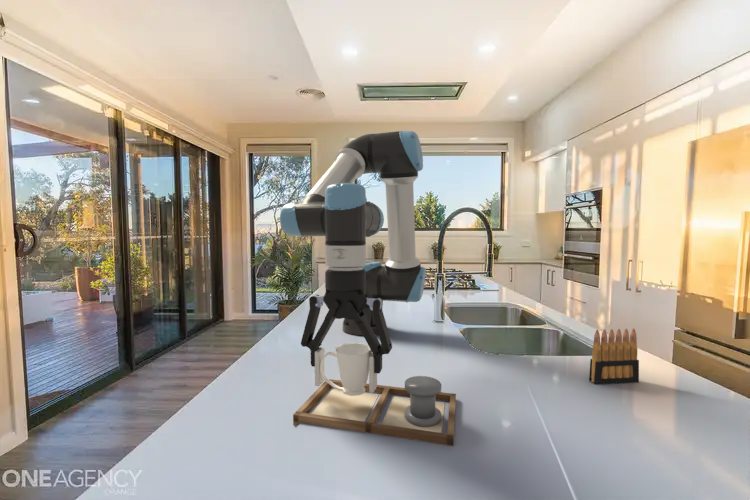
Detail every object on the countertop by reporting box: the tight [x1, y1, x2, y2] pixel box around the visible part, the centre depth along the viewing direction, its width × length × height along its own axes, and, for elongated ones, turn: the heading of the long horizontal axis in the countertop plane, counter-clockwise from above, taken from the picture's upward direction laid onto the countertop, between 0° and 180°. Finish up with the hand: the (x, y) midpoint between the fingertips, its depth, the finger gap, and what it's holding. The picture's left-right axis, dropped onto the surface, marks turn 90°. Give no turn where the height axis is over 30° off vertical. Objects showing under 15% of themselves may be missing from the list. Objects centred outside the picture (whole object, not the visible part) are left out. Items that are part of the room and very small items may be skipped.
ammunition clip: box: [588, 328, 640, 386], centre depth 76 cm, size 11×2×12 cm, turn 96°
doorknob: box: [404, 375, 442, 427], centre depth 60 cm, size 6×6×6 cm
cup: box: [320, 342, 372, 396], centre depth 64 cm, size 7×10×8 cm
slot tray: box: [292, 378, 457, 447], centre depth 62 cm, size 15×27×2 cm, turn 75°
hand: (345, 386), depth 64 cm, fingers closed on cup, 10 cm apart
